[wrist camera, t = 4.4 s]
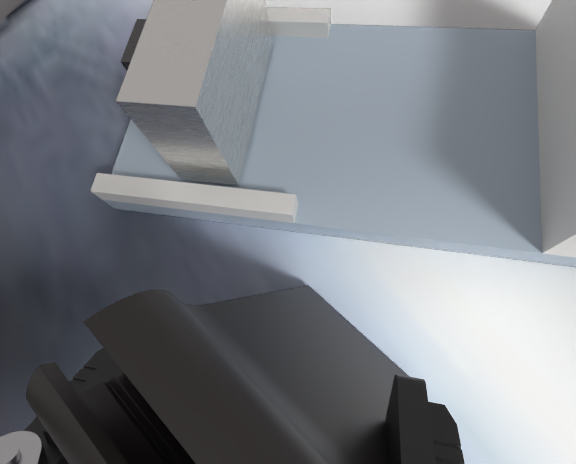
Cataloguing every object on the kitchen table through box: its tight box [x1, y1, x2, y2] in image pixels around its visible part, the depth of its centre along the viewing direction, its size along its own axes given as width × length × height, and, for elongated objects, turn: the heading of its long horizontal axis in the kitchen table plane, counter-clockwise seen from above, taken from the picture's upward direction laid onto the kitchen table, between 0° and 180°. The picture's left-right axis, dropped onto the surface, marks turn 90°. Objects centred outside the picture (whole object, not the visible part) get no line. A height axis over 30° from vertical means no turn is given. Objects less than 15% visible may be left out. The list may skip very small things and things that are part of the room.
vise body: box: [90, 0, 576, 267], centre depth 17 cm, size 24×12×7 cm, turn 80°
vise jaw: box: [116, 0, 273, 186], centre depth 18 cm, size 5×9×6 cm, turn 170°
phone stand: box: [26, 285, 409, 464], centre depth 11 cm, size 9×6×12 cm, turn 136°
